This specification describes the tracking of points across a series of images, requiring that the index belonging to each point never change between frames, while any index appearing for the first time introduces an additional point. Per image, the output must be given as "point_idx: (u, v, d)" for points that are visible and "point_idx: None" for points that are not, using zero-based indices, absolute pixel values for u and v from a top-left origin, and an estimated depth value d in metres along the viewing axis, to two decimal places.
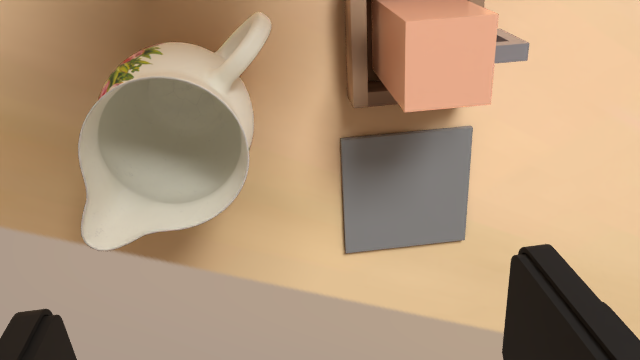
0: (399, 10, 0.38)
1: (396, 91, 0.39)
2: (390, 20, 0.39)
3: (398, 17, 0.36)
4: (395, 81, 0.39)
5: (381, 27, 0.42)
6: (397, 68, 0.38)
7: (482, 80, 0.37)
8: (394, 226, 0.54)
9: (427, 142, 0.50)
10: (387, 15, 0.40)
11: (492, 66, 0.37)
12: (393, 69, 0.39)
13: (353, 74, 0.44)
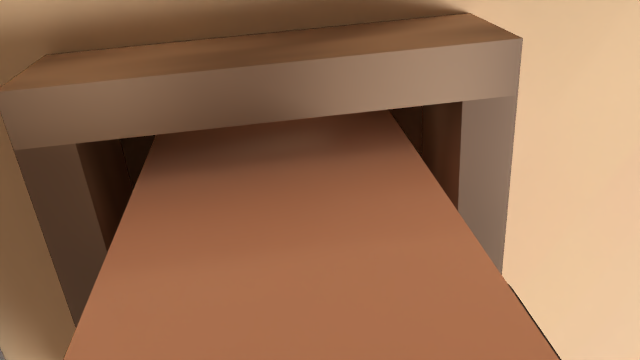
0: None
1: None
2: (437, 249, 0.09)
3: (543, 347, 0.07)
4: (170, 356, 0.07)
5: (341, 174, 0.11)
6: None
7: None
8: None
9: None
10: (430, 217, 0.10)
11: None
12: (227, 317, 0.08)
13: (143, 80, 0.11)
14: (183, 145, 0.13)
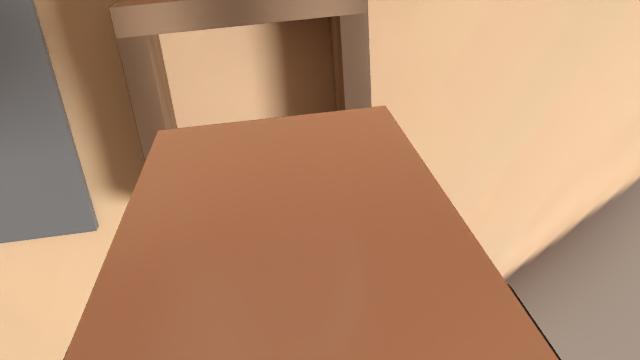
0: None
1: None
2: (437, 249, 0.09)
3: (541, 346, 0.07)
4: (170, 354, 0.07)
5: (340, 173, 0.11)
6: None
7: None
8: None
9: (53, 160, 0.27)
10: (429, 216, 0.10)
11: None
12: (228, 316, 0.08)
13: (180, 2, 0.22)
14: (183, 145, 0.13)
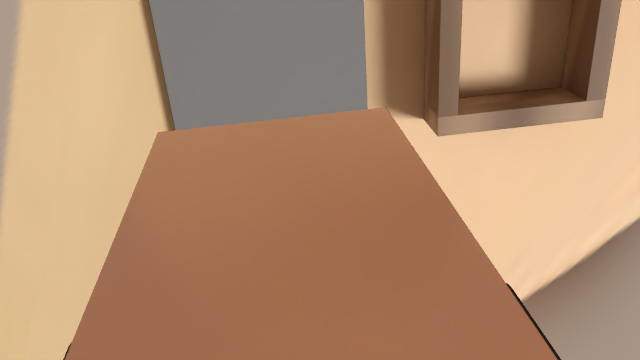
0: None
1: None
2: (438, 252, 0.09)
3: (544, 351, 0.07)
4: None
5: (341, 176, 0.11)
6: None
7: None
8: (201, 43, 0.32)
9: (350, 79, 0.34)
10: (430, 219, 0.10)
11: None
12: (228, 321, 0.08)
13: None
14: (183, 147, 0.13)
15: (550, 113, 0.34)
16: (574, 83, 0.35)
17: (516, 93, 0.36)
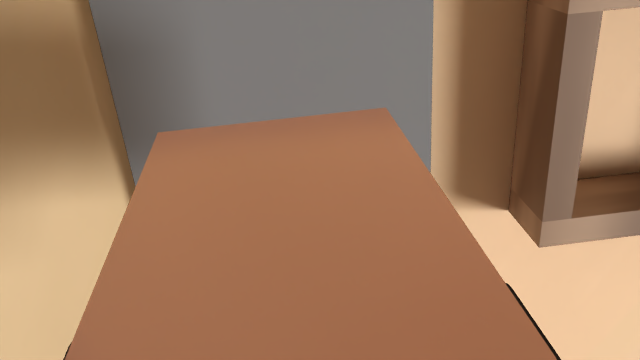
0: None
1: None
2: (438, 253, 0.09)
3: (544, 352, 0.07)
4: None
5: (341, 176, 0.11)
6: None
7: None
8: (185, 113, 0.21)
9: None
10: (430, 220, 0.10)
11: None
12: (228, 321, 0.08)
13: None
14: (183, 147, 0.13)
15: None
16: None
17: None
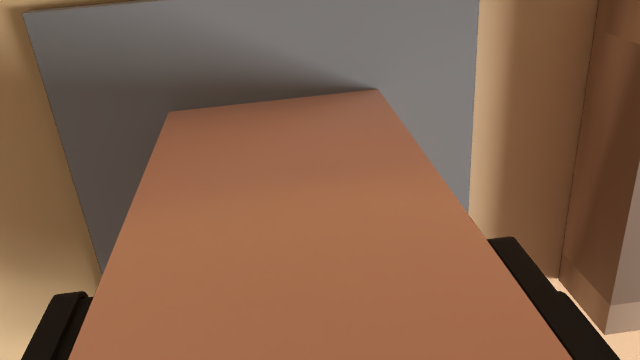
0: None
1: (141, 302, 0.08)
2: (419, 202, 0.10)
3: (503, 272, 0.08)
4: (188, 283, 0.08)
5: (336, 145, 0.13)
6: (262, 297, 0.08)
7: None
8: None
9: None
10: (413, 178, 0.11)
11: None
12: (236, 255, 0.09)
13: None
14: (193, 123, 0.15)
15: None
16: None
17: None
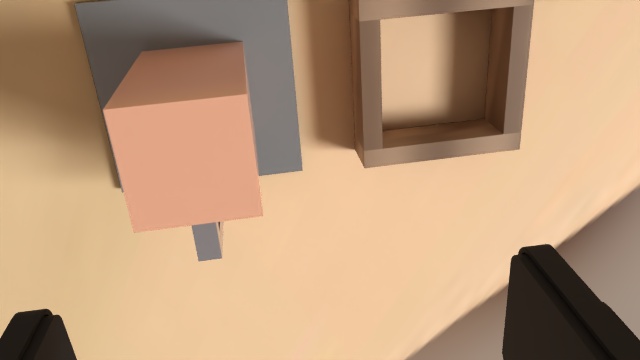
0: (246, 82, 0.27)
1: (130, 91, 0.25)
2: (231, 70, 0.27)
3: (244, 82, 0.25)
4: (145, 88, 0.26)
5: (211, 58, 0.30)
6: (168, 89, 0.25)
7: (168, 214, 0.26)
8: None
9: (281, 114, 0.36)
10: (234, 65, 0.28)
11: (191, 223, 0.26)
12: (162, 83, 0.26)
13: None
14: (152, 54, 0.32)
15: (470, 145, 0.36)
16: (494, 117, 0.37)
17: (441, 125, 0.38)
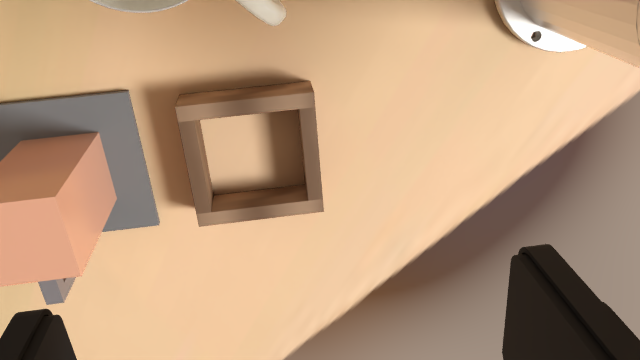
0: (75, 177, 0.38)
1: None
2: (64, 169, 0.38)
3: (63, 183, 0.36)
4: None
5: (61, 153, 0.40)
6: (9, 188, 0.36)
7: (11, 275, 0.36)
8: None
9: (136, 184, 0.46)
10: (70, 163, 0.39)
11: (28, 281, 0.36)
12: (9, 181, 0.37)
13: (212, 103, 0.41)
14: (25, 145, 0.42)
15: (282, 209, 0.46)
16: None
17: (268, 190, 0.48)
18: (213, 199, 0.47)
